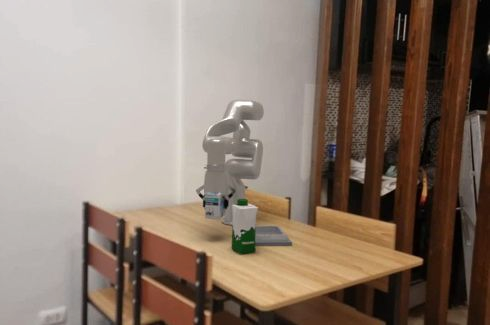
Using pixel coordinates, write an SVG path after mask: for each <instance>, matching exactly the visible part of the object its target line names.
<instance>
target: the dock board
mask: <svg viewBox="0 0 490 325" xmlns="http://www.w3.org/2000/svg"><path fill="white" fill-rule="evenodd" d="M271 234H278V233H277V232H256V235H271ZM292 245H293V242H292V241H291V239H290V238H289V237H288V236H287V241H255V247H291V246H292Z"/></svg>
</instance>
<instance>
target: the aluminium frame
mask: <svg viewBox="0 0 490 325" xmlns="http://www.w3.org/2000/svg"><path fill="white" fill-rule="evenodd" d="M256 232H277V233H278V234H271V235H255V241H287V237H288V234H287V233H286V232H285V231H284V229H282V227H281V226H280V225H256Z"/></svg>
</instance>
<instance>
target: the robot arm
mask: <svg viewBox="0 0 490 325" xmlns="http://www.w3.org/2000/svg"><path fill="white" fill-rule="evenodd" d="M264 112H265V110H264V106H263V105H262V103H260V102H258V101H256V100H253V99H251V100H250V99H249V100H248V99H234V100H231V101H230V102H229V103H228V104H227V106H226V110H225V111H224V113H223V117H222V118H221V119H220V120H219V121H217V122H215V123H213V124H212V125H210V127H209V128H207V130H206V132H205V134H204V136H203V139H202V143H201V144H202V149H203V151H204V152H205V153H206V154H207V155H206V156H207V158H206V160H207V162H206V163H207V164H205V165H203V169H205V170H206V171H205V173H204V180H203V185H201V186H199V187H198V188H196V189H195V192H196V194H197V195H198V196H199V198H200V199H201V200H202V208H205V193H222V196H225V209H226V214H225V215H224V217H222V218H221V223H222V224H224V225H228V226H232V222H233V212H232V205H235V204H237V201H238V199H246V186H245V184H244V182H243V180H257V179H258V178H260V174H261V168H262V162H263V154H264V146H263V142H262V141H261V140H260V139H258V138H251V128H250V127H249V125H248V124H247V123H246V122H245V121H261V120H262V119H263V117H264V114H265V113H264ZM232 133H233V134H232ZM228 134H232V137H230V136H224V135H228ZM226 155H232V156H233V157H234V158H230V159H228V160H226ZM202 190H203V193H204V194H203V193H202V192H201V191H202Z"/></svg>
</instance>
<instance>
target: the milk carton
mask: <svg viewBox="0 0 490 325" xmlns="http://www.w3.org/2000/svg"><path fill="white" fill-rule="evenodd" d="M248 201H249V200H248V199H247V198H245V199H238V201H237V204H235V205H232V212H233V222H232V225H231V228H232V229H231V230H232V231H231V250H233V251H234V252H235V253H237V254H238V255H244V254H252V253H256V246H255V235H256V226H257V214H258V210H259V207H258V206H256V205H254V204H251V203H249V202H248Z"/></svg>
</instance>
